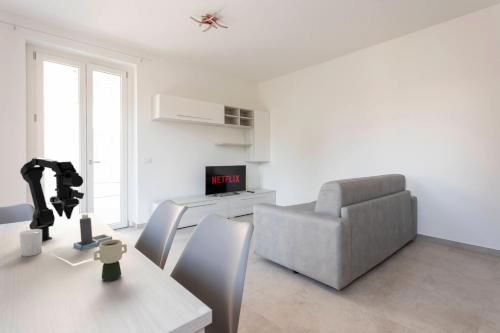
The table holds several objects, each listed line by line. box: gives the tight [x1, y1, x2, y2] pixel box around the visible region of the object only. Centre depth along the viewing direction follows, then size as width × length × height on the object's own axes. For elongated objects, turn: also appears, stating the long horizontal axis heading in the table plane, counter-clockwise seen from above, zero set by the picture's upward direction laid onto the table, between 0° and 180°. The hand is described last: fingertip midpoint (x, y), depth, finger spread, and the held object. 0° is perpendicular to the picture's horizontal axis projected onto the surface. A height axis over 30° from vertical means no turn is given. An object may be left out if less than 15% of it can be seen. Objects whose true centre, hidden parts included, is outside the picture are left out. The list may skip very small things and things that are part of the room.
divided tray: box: [73, 233, 113, 251], centre depth 129 cm, size 11×16×2 cm
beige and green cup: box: [93, 239, 128, 281], centre depth 93 cm, size 11×7×13 cm, turn 135°
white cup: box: [18, 229, 43, 257], centre depth 117 cm, size 8×8×10 cm
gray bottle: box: [79, 213, 93, 246], centre depth 124 cm, size 4×4×15 cm
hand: (64, 217), depth 129 cm, fingers open, 9 cm apart
